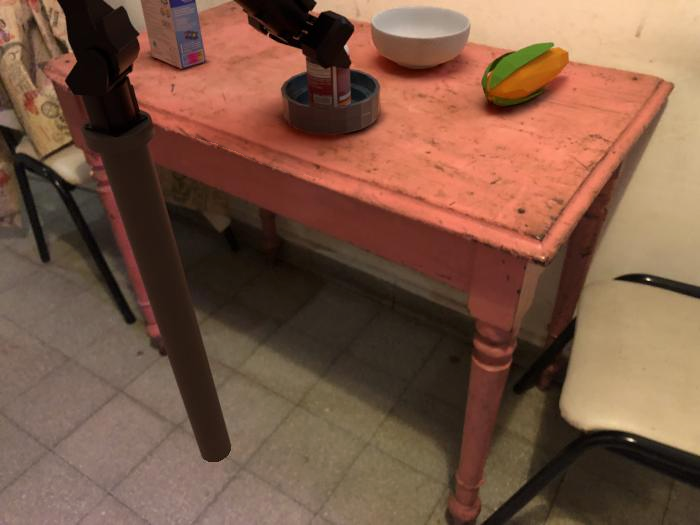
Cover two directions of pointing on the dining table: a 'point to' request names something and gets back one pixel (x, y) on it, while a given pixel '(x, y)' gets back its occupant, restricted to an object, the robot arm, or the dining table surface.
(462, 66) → the dining table surface
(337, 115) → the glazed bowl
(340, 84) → the pill bottle
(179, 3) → the ink cartridge box
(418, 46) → the cereal bowl
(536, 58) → the corn
